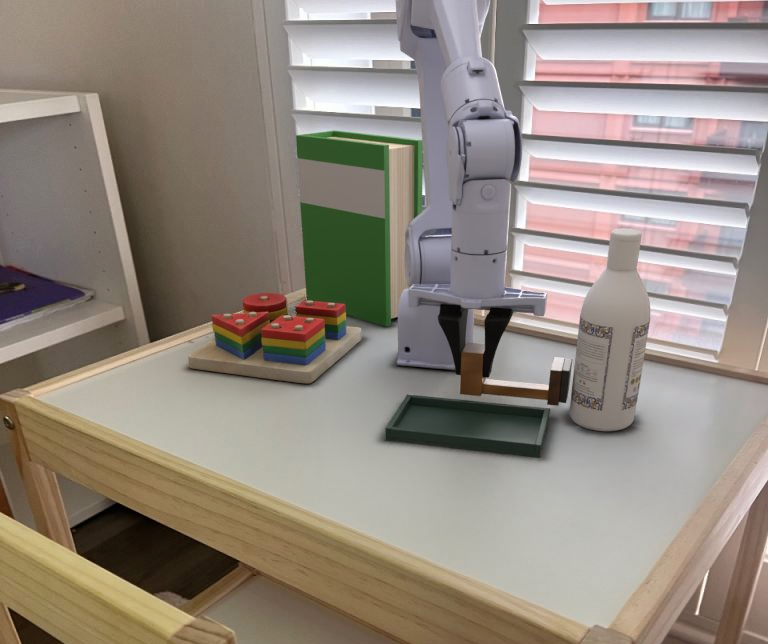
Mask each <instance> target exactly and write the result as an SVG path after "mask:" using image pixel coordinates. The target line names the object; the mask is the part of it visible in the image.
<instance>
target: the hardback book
mask: <svg viewBox="0 0 768 644" xmlns="http://www.w3.org/2000/svg"><path fill="white" fill-rule="evenodd" d="M295 144H296V156H297V157H296V160H297V174H298V176H297V177H298V188H299V189H298V191H299V205H300V222H301V234H302V237H301V238H302V251H303V252H302V253H303V266H304V267H303V268H304V281H305V283H304V284H305V296H306V300H308V301H318V302H329V303H340V304H345V306H346V311H345V312H346V316H350V317H353V318H356V319H360V320H361V321H362V320H363V321H366V322H369V323H372V324H375V325H379V326H382V327H384V328H388V327H390V326H392V319H395V318H398V307H399V301H400V297H401V294H402V292H403V290H404V289H409V288H410V287H409V286H408V284H407V281H406V275H405V262H404V255H405V232H406V230H407V227H408V225H409V223H410V222H411V221H412V220H413V219H414V218H416V217H417V216H418V215H419V214H420V213H421V212H422V211H423V173H424V163H423V146H422V139H418V138H410V137H401V136H390V135H382V134H372V133H362V132H353V131H343V130H336V129H335V130H327V131H319V132H312V133H303V134H296V135H295Z"/></svg>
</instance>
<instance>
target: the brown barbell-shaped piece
mask: <svg viewBox="0 0 768 644" xmlns="http://www.w3.org/2000/svg"><path fill="white" fill-rule="evenodd" d="M484 352H485V343H478V342H477V343H474V342H473V343H466V345H465V347H464V348H463V350H462V352H461V375H460V377H459V379H460V383H459V395H464V396H473V397H475V396H476V397H482V395H490V396H500V397H501V396H502V397H511V398H521V399H532V400H542V401H546V405H547V406H557V407H558V406H559V403H561V404H566V403H567V401H568V397H569V391H570V385H571V375H572V368H573V367H572V366H573V358H566V357H559V356H554V357H553V360H552V363H551V366H550V371H549V381H548V384H545V383H535V382H534V383H533V382H523V381H512V380H500V379H491V378H490V379H489V378H486V377H483V360H484Z"/></svg>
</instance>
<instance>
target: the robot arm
mask: <svg viewBox="0 0 768 644" xmlns="http://www.w3.org/2000/svg"><path fill="white" fill-rule="evenodd" d="M490 4H491V0H395V14H396V15H395V16H396V30H397V31H396V32H397V33H396V34H397V40H398V41H399V50H400V52H401V53H403V54H405V55H406V56H408V57H409V58H411V59H412V60H413V61H414V66H415V71H416V76H417V80H418V81H417V82H418V91H419V93H418V94H419V109H420V126H421V128H420V129H421V140H422V146H423V176H424V177H423V178H424V180H423V181H424V197H425V208H424V209H423V210H422V212H421V213H420V214H419V215H418V216H417V217H416V218H414V219H413V220H412V221H411V222H410V223H409V225H408V227H407V230H406V232H405V255H404V262H405V275H406V281H407V284H408V286H409V287H410V288H409V289H404V290H403V292H402V294H401V297H400V301H399V307H398V317H397V360H396V365H397V366H402V367H403V366H405V367H415V368H427V369H439V370H448V371H450V370H451V371H454V372H455V375H457V376H461V352H462V350H463V348H464V347H465V345H466V343H474V329H475V328H474V327H475V310H478V311H488V313H487V314H486V316H485V318H484V322H483V323H484V344H485V352H484V360H483V377H486V379H489V378H490V377H491V376H490V375H491V374H492V370H493V364H494V359H495V355H496V353H497V350H498V347H499V344H500V341H501V339H502V337H503V336H504V335H503V334H504V333H505V331H506V329H507V327H508V325H509V324H510V322H511V319H512V317H513V315H514V313H519V314H520V313H521V314H533V316H535V317H544V316H545V314H546V311H547V302H548V292H541V291H532V290H527V289H520V288H515V287H509V286H506V271H507V255H508V241H509V240H508V239H509V223H510V208H511V193H512V184H511V182H512V183H514V182H516V181H517V179H518V177H519V175H520V171H521V166H522V160H523V134H522V129H521V124H520V121H519V119H518V117H517V116H515V115H513V112H512V110H506V109H505V105H504V99H503V95H502V91H501V87H500V83H499V78H498V73H497V70H496V67H495V65H494V64H493V63H492V62H491V61H490V60H489V59H488V58H485V57H483V53H482V43H481V37H482V33H483V29H484V25H485V22H486V17H487V15H488V13H489V9H490Z"/></svg>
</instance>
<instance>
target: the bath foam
mask: <svg viewBox="0 0 768 644" xmlns="http://www.w3.org/2000/svg"><path fill="white" fill-rule="evenodd" d="M642 236H643V234H642V231H641V230H639V229H635V228H628V227H627V228H625V227H624V228H623V227H622V228H621V227H620V228H615V229H612V230H611V232H610V236H609V242H608V243H609V244H608V250H607V258H606V267H605V269H604V270H603V271H602V273H601V274H600V275H599V277H598V278H597V279H596V280H595V281H594V283H593V284H592V285H591V287H590V288H589V289H588V291H587V293H586V295H585V297H584V299H583V302H582V305H581V310H580V314H579V322H578V329H577V339H576V348H575V357H574V358H575V359H574V365H573V367H574V368H573V376H572V385H571V393H570V404H569V416H570V418H571V420H572V422H574V423H575V424H576V425H578V426H580V427H582V428H584V429H587V430H592V431H596V432H597V431H598V432H614V431H615V432H617V431H620V430H625V429H626V428H628V427H629V426H631V425H632V424H633V422H634V421H635V415H636V409H637V403H638V398H639V392H640V385H641V380H642V373H643V367H644V360H645V354H646V349H647V343H648V337H649V336H648V335H649V329H650V323H651V301H650V296H649V293H648V291H647V288H646V285H645V284H644V281H643V280H642V277H641V276H640V273H639V272H638V263H639V257H640V251H641V250H640V249H641V243H642Z"/></svg>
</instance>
